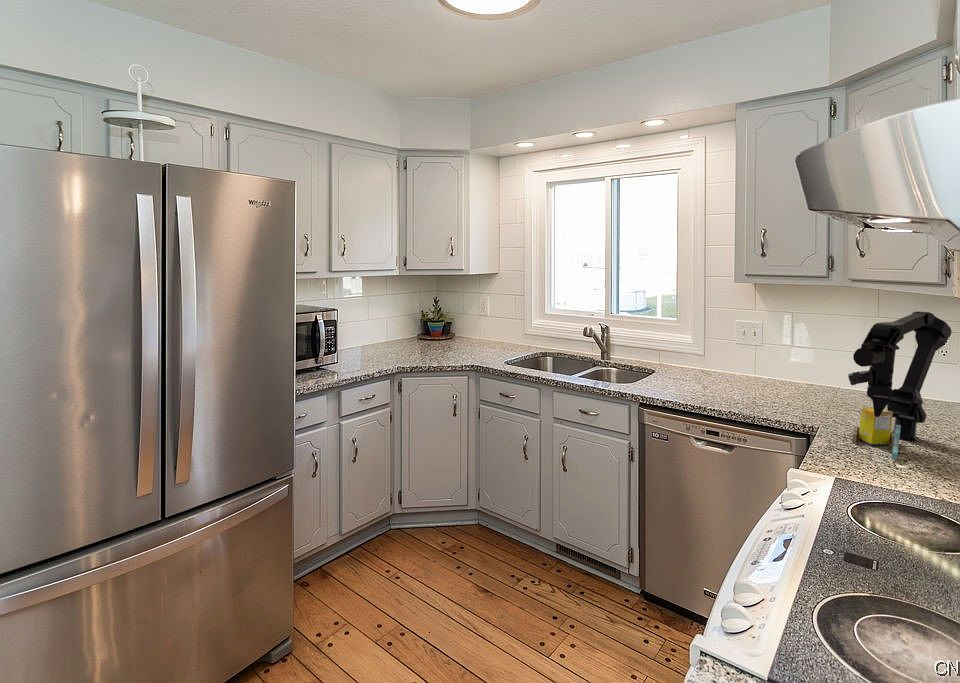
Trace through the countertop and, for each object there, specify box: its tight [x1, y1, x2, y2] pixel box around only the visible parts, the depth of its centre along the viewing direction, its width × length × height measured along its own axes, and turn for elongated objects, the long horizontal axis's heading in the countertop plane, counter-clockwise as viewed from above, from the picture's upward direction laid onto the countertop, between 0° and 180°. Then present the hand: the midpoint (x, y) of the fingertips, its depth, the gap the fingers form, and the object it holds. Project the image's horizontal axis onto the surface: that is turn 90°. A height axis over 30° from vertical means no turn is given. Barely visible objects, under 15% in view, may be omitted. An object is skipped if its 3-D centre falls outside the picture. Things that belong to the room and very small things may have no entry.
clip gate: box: [891, 425, 901, 461], centre depth 165 cm, size 1×10×8 cm, turn 143°
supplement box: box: [857, 407, 893, 447], centre depth 177 cm, size 6×6×11 cm
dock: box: [851, 426, 895, 451], centre depth 178 cm, size 10×11×3 cm
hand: (876, 413), depth 177 cm, fingers open, 9 cm apart
